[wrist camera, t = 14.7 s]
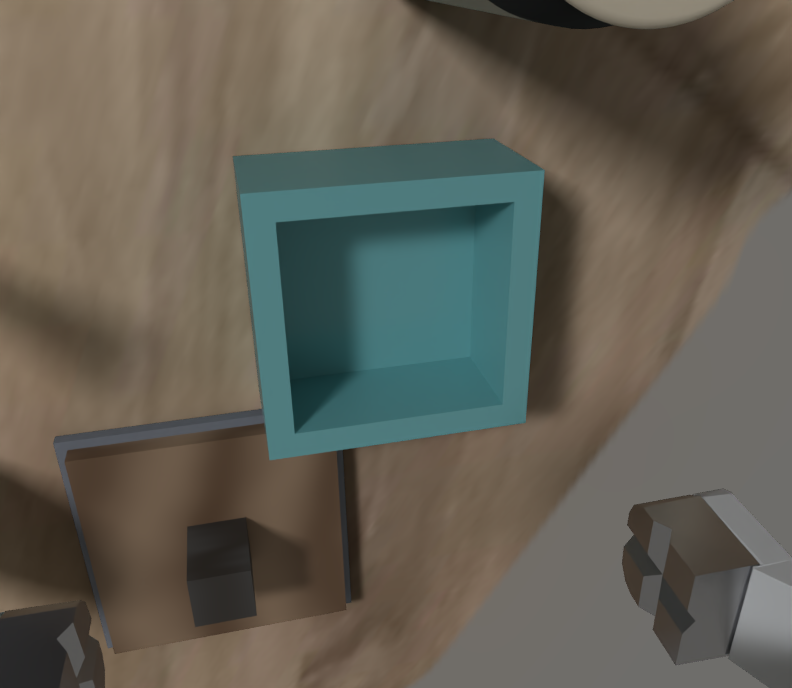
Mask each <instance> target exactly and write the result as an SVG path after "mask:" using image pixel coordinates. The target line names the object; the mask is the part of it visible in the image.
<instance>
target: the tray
mask: <svg viewBox="0 0 792 688" xmlns="http://www.w3.org/2000/svg"><path fill="white" fill-rule="evenodd" d="M262 423H264V419H263V413H262V409H259V410H251V411H244V412H236V413H229V414H221V415H214V416H206V417H199V418H191V419H184V420H176V421H169V422H161V423H154V424H147V425H139V426H132V427H124V428H117V429H109V430H102V431H94V432H87V433H79V434H72V435H64V436H57V437H55V439H54V443H53V444H54V448H55V452H56V456H57V459H58V463H59V467H60V471H61V474H62V478H63V482H64V486H65V489H66V493H67V497H68V500H69V504H70V508H71V512H72V515H73V519H74V523H75V527H76V530H77V534H78V538H79V542H80V545H81V549H82V553H83V556H84V560H85V564H86V568H87V571H88V575H89V579H90V583H91V586H92V590H93V594H94V598H95V601H96V605H97V609H98V613H99V616H100V620H101V624H102V627H103V631H104V635H105V639H106V642H107V646H108V648H111V647H113V645H112V641H111V637H110V634H109V630H108V626H107V622H106V618H105V615H104V611H103V607H102V603H101V599H100V596H99V592H98V588H97V584H96V580H95V577H94V573H93V569H92V565H91V561H90V558H89V554H88V550H87V546H86V542H85V539H84V535H83V531H82V527H81V523H80V520H79V516H78V512H77V508H76V504H75V501H74V497H73V493H72V489H71V485H70V482H69V478H68V474H67V470H66V466H65V463H64V462H65V458H66V454H67V450H73V449H80V448H87V447H94V446H102V445H109V444H116V443H124V442H131V441H138V440H145V439H153V438H160V437H167V436H175V435H182V434H189V433H196V432H204V431H211V430H218V429H225V428H233V427H240V426H247V425H255V424H262ZM337 466H338V482H339V499H340V515H341V531H342V548H343V564H344V580H345V597H346V603H350V602H351V589H350V571H349V554H348V536H347V519H346V501H345V483H344V466H343V450H337Z"/></svg>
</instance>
